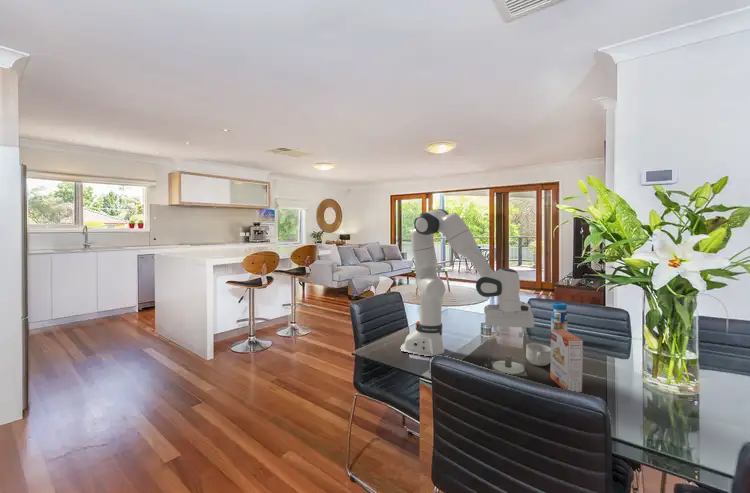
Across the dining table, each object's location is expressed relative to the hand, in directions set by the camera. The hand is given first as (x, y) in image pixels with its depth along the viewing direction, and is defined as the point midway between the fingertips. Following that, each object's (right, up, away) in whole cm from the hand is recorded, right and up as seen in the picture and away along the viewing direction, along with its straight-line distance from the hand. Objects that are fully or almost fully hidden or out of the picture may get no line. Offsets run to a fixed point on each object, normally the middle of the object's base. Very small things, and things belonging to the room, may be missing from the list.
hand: (509, 336), depth 155 cm
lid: (0, -14, +1) cm, 14 cm away
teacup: (+15, -15, +5) cm, 22 cm away
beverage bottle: (+43, -12, +40) cm, 60 cm away
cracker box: (+16, -16, -16) cm, 27 cm away
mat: (0, -15, +1) cm, 15 cm away
